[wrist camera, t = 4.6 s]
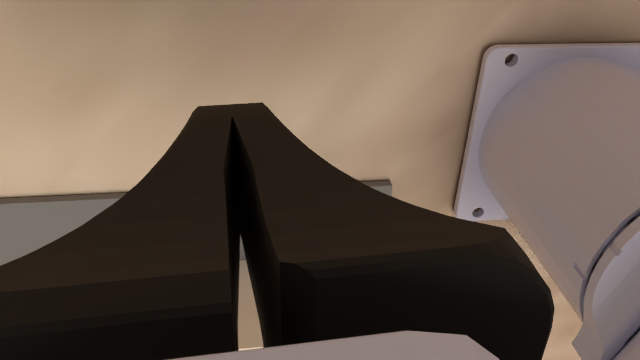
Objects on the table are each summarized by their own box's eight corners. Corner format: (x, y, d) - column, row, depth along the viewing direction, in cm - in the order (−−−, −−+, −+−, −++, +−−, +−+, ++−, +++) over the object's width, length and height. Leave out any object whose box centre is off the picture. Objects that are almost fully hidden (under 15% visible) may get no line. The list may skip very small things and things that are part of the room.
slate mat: (389, 180, 25) (392, 185, 25) (361, 420, 34) (362, 426, 33) (-70, 201, 23) (-75, 207, 22) (24, 455, 31) (22, 462, 31)
